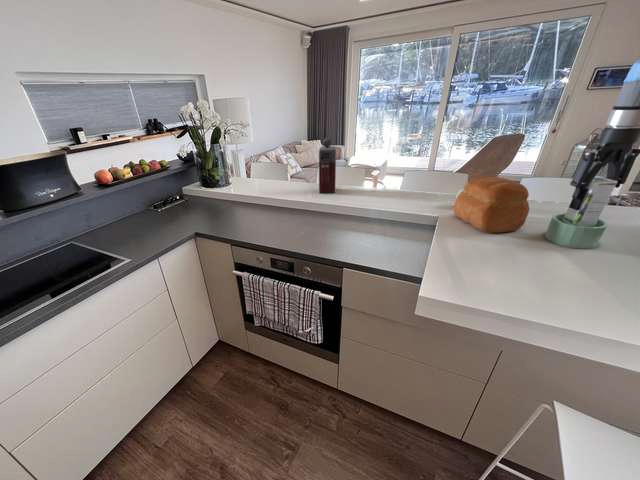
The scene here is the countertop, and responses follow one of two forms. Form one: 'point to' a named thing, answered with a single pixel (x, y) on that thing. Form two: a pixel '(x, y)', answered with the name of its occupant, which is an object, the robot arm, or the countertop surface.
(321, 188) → the glass liquor decanter
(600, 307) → the countertop surface
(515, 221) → the bread
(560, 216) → the crock
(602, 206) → the syrup box
